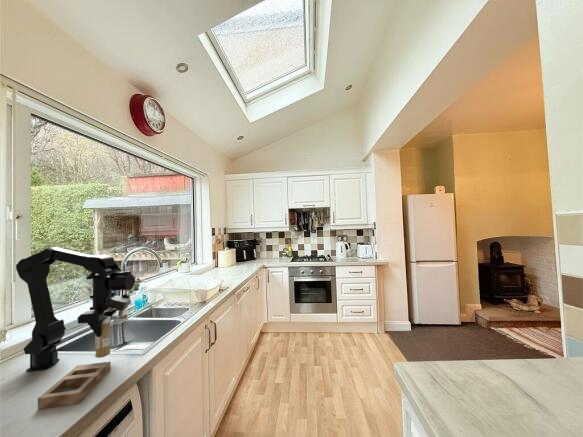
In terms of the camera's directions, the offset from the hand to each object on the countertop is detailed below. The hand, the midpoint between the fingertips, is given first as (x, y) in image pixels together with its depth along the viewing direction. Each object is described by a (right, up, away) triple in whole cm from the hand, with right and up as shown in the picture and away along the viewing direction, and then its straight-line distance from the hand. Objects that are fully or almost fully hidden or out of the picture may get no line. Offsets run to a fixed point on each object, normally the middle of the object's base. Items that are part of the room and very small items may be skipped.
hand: (102, 334), depth 93 cm
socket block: (+3, -10, -14) cm, 18 cm away
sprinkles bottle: (0, -8, 0) cm, 8 cm away
